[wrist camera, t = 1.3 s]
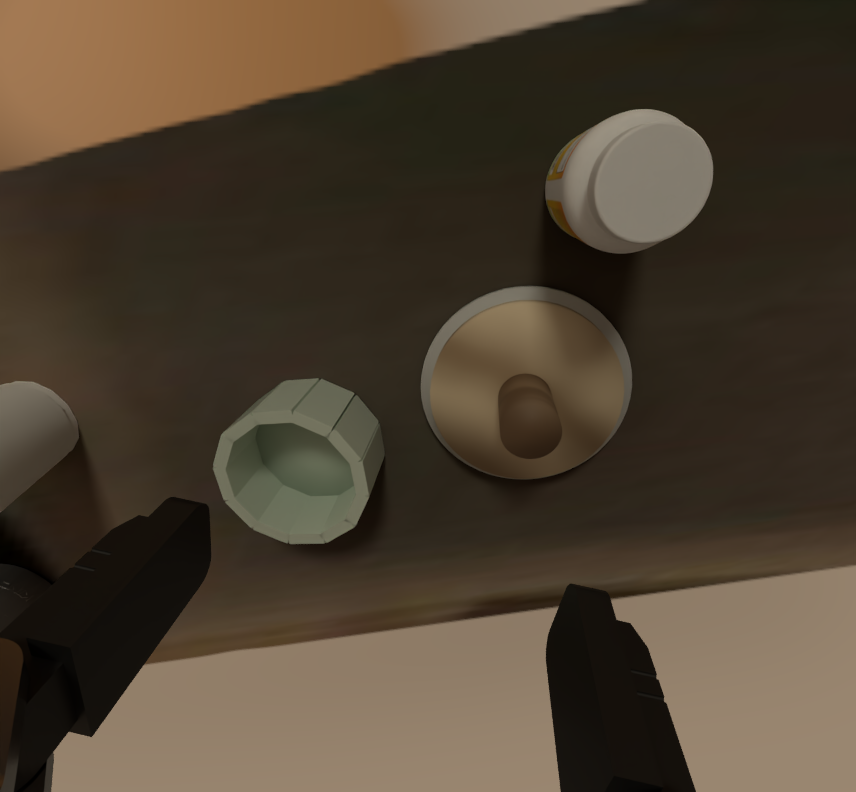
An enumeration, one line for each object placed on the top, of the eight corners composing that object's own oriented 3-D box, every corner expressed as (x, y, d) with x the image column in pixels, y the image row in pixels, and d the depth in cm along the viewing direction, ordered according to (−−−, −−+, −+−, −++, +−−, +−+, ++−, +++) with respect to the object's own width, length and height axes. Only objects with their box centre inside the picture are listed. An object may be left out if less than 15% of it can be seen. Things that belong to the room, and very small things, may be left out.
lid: (559, 495, 33) (572, 551, 28) (404, 428, 32) (389, 472, 27) (659, 349, 28) (697, 385, 23) (480, 266, 27) (478, 284, 22)
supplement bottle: (642, 237, 26) (721, 261, 17) (542, 241, 27) (569, 267, 18) (655, 124, 24) (753, 87, 15) (546, 132, 25) (579, 102, 16)
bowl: (356, 517, 36) (337, 564, 32) (237, 467, 35) (201, 508, 31) (403, 414, 32) (390, 452, 28) (271, 356, 32) (234, 385, 27)
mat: (561, 502, 34) (563, 507, 33) (392, 428, 33) (391, 432, 32) (673, 341, 28) (676, 344, 28) (474, 248, 27) (474, 249, 27)
